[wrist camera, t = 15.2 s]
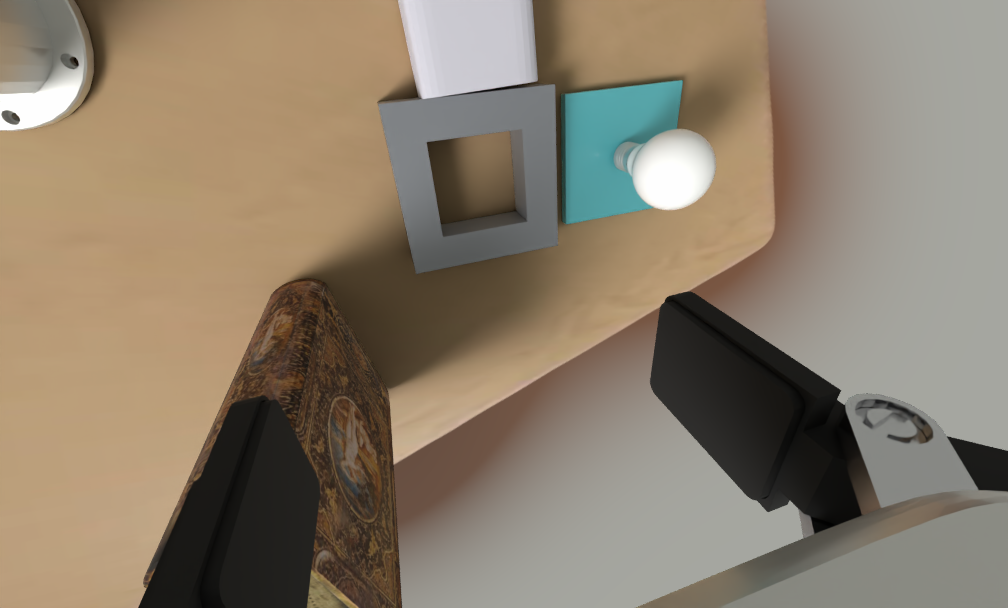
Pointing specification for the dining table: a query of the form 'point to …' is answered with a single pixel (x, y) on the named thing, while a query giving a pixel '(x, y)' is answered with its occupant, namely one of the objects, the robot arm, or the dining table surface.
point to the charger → (469, 44)
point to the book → (326, 442)
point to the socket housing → (465, 116)
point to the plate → (609, 144)
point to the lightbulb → (669, 168)
